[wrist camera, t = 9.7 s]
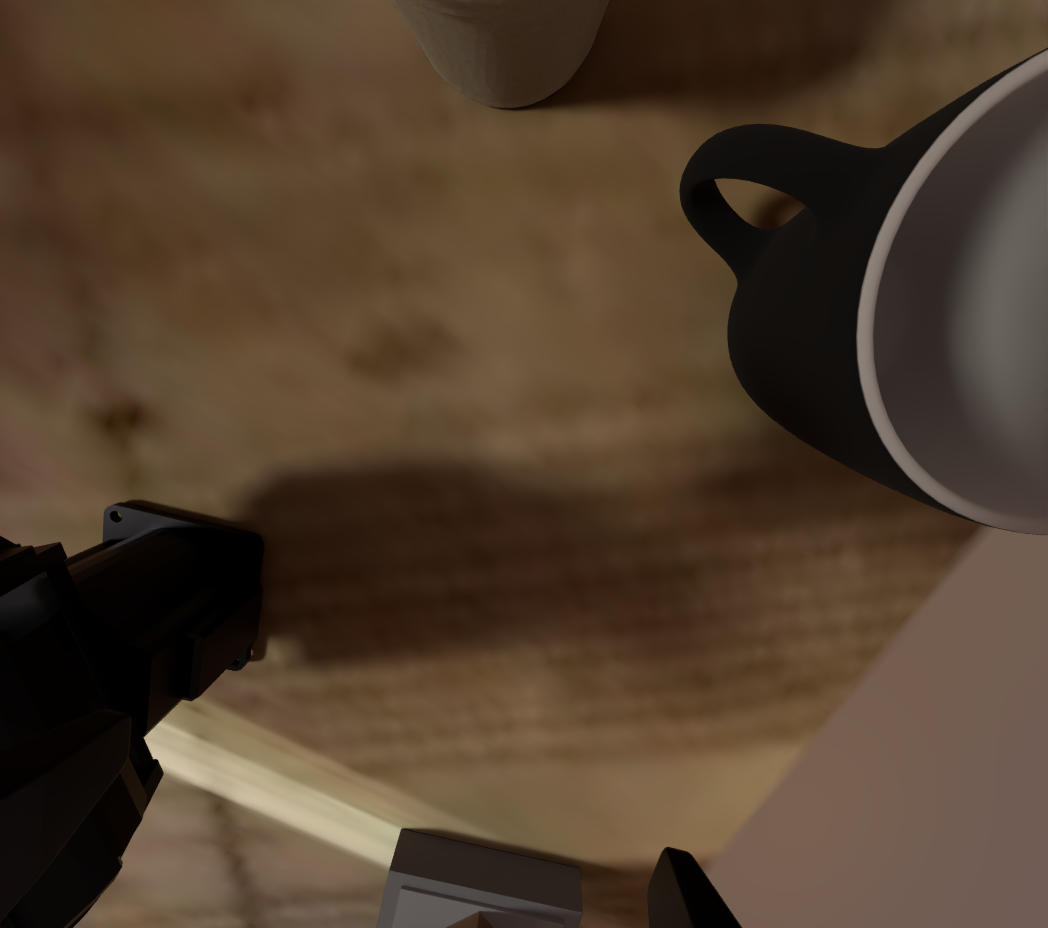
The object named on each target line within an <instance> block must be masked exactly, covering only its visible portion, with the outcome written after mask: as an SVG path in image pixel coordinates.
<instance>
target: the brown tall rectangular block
mask: <svg viewBox="0 0 1048 928" xmlns="http://www.w3.org/2000/svg"><path fill="white" fill-rule="evenodd" d="M446 928H493V927H492V926H491V924H490V923H489V922H488V921H487V920H486V919H485V917H484V916H483V915H482V914H481V913H480V912H479V911H478V912H476V913H474V914H472V915H470V916H468V917H466V918H464V919H462V920H460V921H458V922H456V923H454V924H452V925H450V926H448V927H446Z"/></svg>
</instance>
